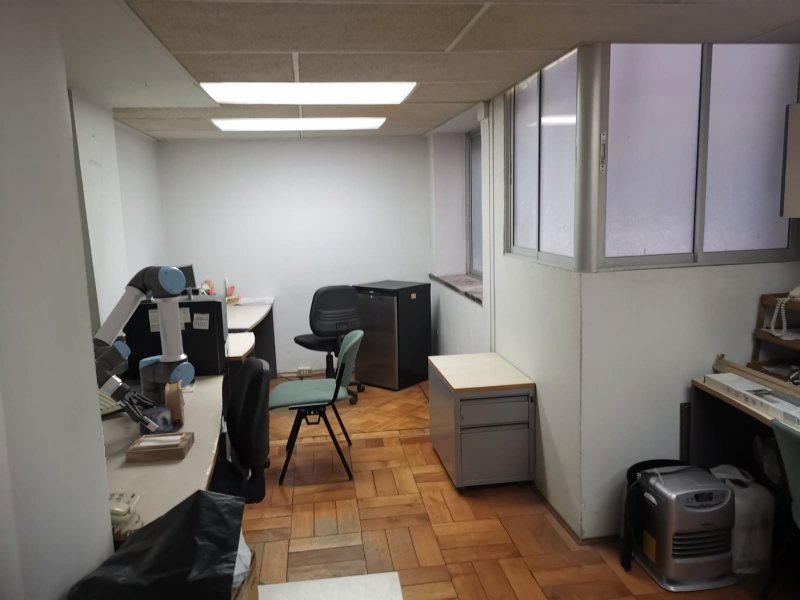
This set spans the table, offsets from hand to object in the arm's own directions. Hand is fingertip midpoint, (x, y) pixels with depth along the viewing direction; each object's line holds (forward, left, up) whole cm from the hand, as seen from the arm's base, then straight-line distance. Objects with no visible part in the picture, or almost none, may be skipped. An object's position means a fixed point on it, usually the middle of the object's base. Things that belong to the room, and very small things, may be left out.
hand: (160, 423), depth 240 cm
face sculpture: (-14, +3, -5) cm, 15 cm away
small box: (0, -2, -5) cm, 5 cm away
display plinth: (+19, +5, -4) cm, 20 cm away
